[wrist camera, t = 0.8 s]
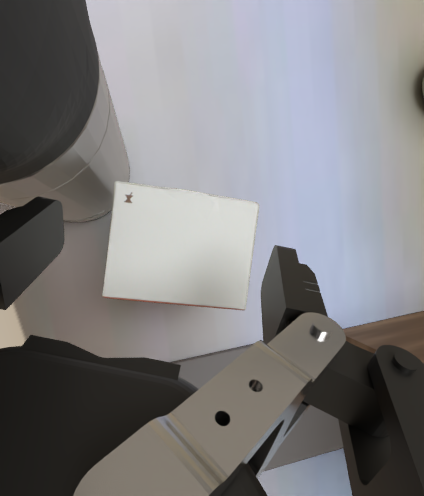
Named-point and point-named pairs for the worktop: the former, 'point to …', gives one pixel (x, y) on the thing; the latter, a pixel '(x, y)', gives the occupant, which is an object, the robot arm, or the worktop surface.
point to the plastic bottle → (423, 86)
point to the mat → (304, 432)
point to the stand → (391, 334)
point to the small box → (179, 247)
